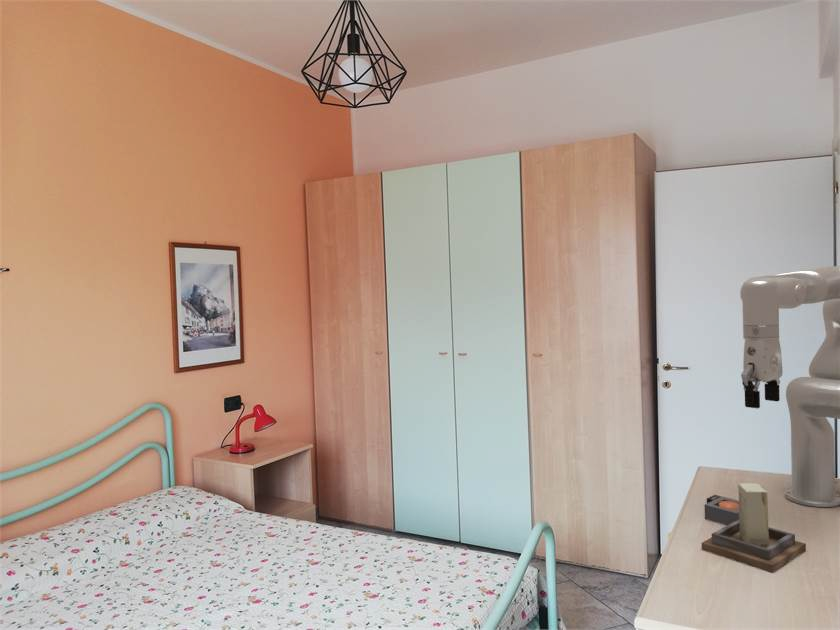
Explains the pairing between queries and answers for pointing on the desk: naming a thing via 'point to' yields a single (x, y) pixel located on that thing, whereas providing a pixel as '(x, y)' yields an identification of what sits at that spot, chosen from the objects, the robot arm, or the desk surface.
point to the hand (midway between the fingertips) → (762, 404)
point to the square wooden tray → (755, 547)
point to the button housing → (721, 512)
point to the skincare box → (753, 514)
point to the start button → (729, 505)
